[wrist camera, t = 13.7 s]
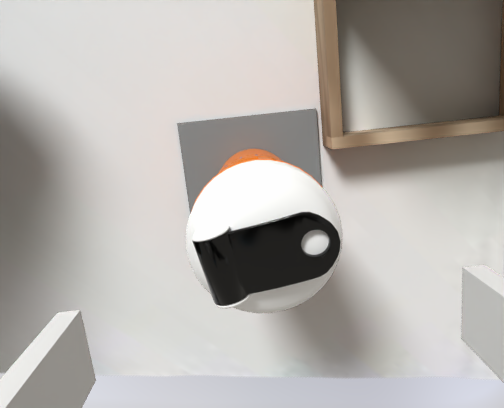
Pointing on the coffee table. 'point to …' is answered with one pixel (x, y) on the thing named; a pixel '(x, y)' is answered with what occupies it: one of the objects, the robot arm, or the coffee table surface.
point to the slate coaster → (247, 144)
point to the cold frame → (340, 139)
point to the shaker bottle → (263, 234)
